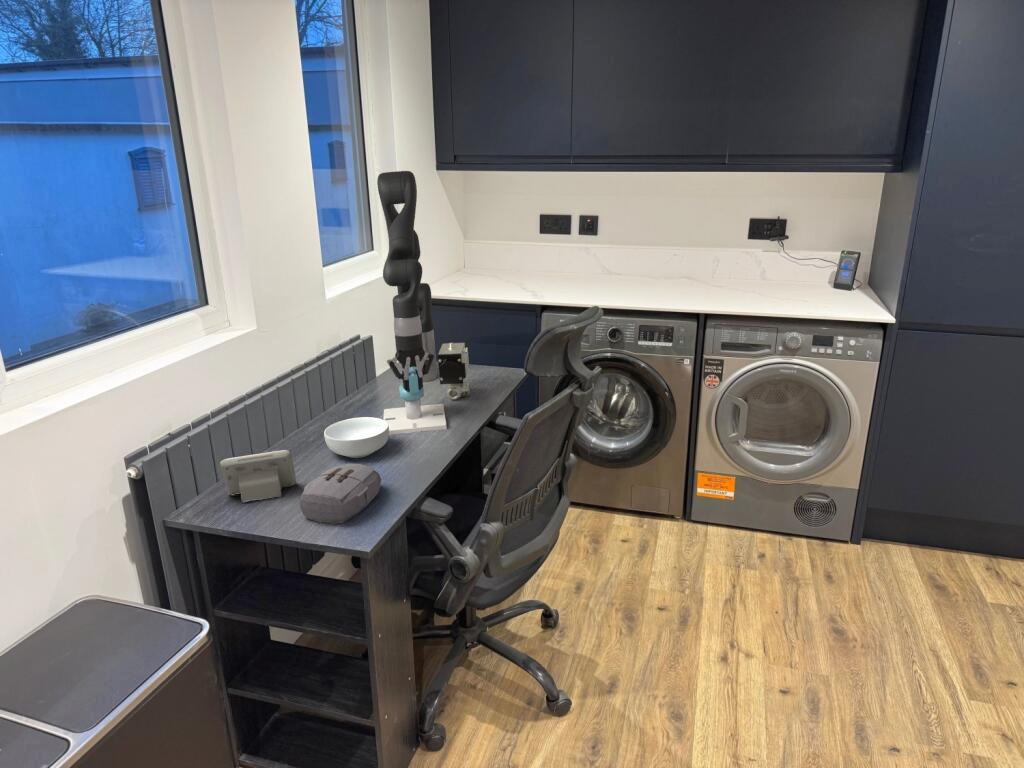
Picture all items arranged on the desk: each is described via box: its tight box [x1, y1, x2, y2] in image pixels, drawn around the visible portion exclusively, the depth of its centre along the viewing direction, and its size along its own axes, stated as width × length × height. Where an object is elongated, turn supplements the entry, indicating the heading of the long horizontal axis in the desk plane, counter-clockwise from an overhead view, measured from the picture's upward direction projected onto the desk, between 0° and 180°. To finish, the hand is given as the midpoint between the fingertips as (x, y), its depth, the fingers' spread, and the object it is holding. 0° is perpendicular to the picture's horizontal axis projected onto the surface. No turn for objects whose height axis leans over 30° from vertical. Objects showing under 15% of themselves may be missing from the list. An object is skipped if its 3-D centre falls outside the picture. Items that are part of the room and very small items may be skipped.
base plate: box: [382, 398, 448, 436], centre depth 210 cm, size 18×18×8 cm
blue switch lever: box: [398, 367, 425, 401], centre depth 207 cm, size 12×7×8 cm, turn 17°
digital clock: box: [219, 449, 297, 502], centre depth 169 cm, size 16×9×11 cm, turn 95°
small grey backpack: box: [299, 463, 382, 524], centre depth 163 cm, size 15×8×20 cm
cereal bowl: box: [323, 416, 390, 459], centre depth 190 cm, size 17×17×7 cm
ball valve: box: [437, 341, 471, 401], centre depth 227 cm, size 18×8×18 cm, turn 179°
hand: (413, 390), depth 204 cm, fingers closed on blue switch lever, 3 cm apart
